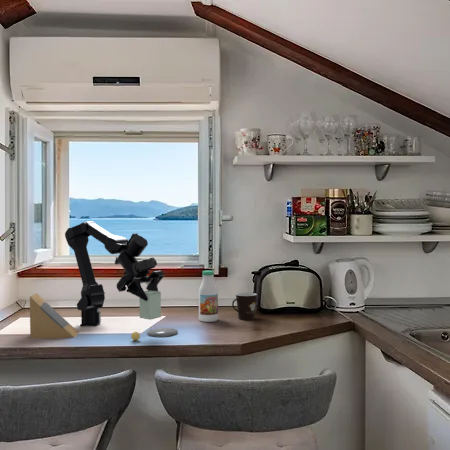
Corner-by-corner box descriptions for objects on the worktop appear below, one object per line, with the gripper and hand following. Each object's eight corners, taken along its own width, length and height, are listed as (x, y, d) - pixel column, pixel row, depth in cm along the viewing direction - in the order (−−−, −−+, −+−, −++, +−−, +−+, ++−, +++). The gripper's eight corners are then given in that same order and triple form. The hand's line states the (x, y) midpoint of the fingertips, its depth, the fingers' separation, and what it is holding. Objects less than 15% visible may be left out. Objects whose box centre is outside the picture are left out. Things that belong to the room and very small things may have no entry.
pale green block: (139, 317, 177) (139, 292, 177) (150, 315, 181) (150, 290, 181) (150, 319, 174) (149, 293, 174) (160, 317, 178) (160, 291, 178)
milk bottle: (194, 320, 204) (194, 270, 203) (208, 317, 210) (208, 269, 209) (208, 323, 199) (208, 272, 198) (222, 320, 204) (221, 270, 204)
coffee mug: (252, 315, 212) (252, 292, 212) (260, 320, 204) (260, 295, 204) (226, 317, 208) (225, 293, 208) (233, 322, 200) (232, 297, 200)
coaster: (144, 337, 178) (144, 335, 178) (149, 329, 189) (149, 328, 189) (176, 336, 178) (176, 335, 178) (179, 329, 189) (179, 327, 189)
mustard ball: (130, 341, 172) (130, 332, 172) (132, 339, 175) (131, 330, 175) (139, 341, 172) (139, 332, 172) (140, 339, 175) (140, 330, 175)
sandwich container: (75, 338, 178) (74, 295, 177) (30, 339, 176) (29, 296, 176) (79, 332, 186) (79, 291, 186) (36, 333, 185) (36, 292, 184)
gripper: (121, 252, 172) (144, 287, 165) (160, 248, 187) (183, 281, 180) (106, 273, 177) (128, 308, 171) (145, 268, 192) (167, 300, 185)
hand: (152, 299), depth 177 cm, fingers closed on pale green block, 5 cm apart
